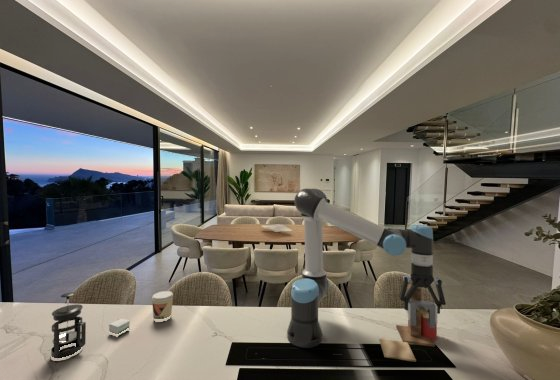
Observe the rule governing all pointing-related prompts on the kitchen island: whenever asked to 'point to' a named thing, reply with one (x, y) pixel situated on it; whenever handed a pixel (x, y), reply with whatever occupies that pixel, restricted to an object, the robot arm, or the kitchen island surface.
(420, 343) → the stand
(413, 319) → the gray arch block
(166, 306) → the coffee cup
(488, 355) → the kitchen island surface
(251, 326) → the kitchen island surface
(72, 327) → the french press
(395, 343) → the coaster
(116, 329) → the small box
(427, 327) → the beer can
